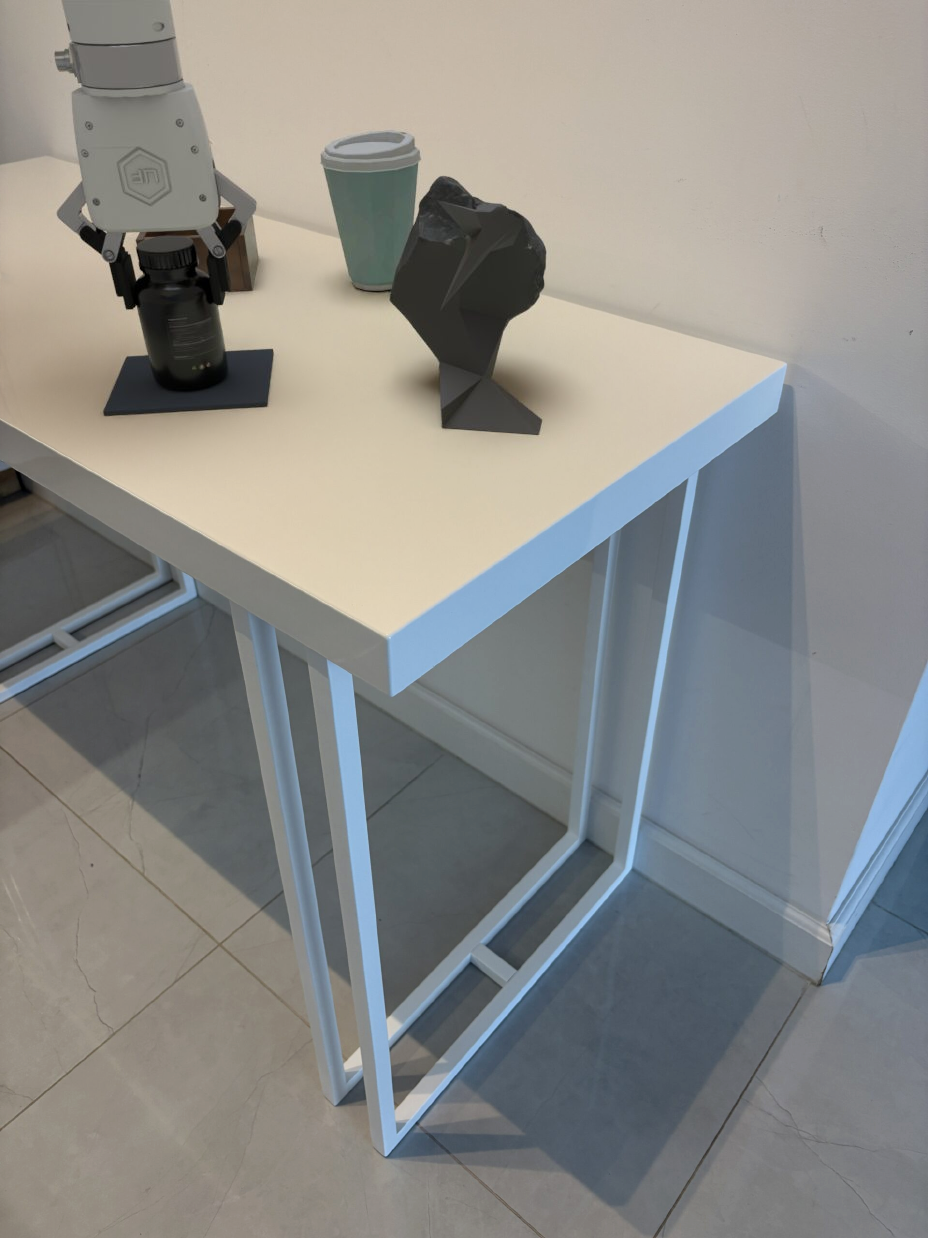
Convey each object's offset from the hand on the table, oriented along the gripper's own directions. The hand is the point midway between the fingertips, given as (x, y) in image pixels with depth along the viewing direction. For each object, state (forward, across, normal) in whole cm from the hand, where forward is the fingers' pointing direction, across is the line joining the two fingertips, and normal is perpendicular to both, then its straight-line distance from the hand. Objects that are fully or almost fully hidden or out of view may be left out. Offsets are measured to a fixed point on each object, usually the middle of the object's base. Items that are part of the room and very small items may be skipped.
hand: (176, 300), depth 81 cm
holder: (+8, -2, +30) cm, 31 cm away
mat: (+8, 0, 0) cm, 8 cm away
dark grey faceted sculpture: (+8, +25, -5) cm, 27 cm away
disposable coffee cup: (+8, +18, +25) cm, 32 cm away
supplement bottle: (+7, 0, 0) cm, 7 cm away
